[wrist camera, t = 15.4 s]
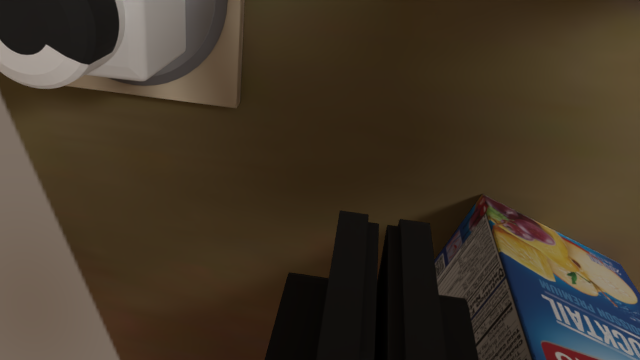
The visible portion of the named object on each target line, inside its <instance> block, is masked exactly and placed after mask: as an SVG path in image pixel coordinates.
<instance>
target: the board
mask: <svg viewBox="0 0 640 360" xmlns="http://www.w3.org/2000/svg"><path fill="white" fill-rule="evenodd" d="M244 1H245V0H185V18H186V50H185V52H184V53H183V54H181V55H180V56H179V57H177V58H176V59H175V60H173V61H172V62H170V63H169V64H168V65H166V66H165V67H164V68H162V69H161V70H160V71H158V72H157V73H156V74H154V75H153V76H151V77H150V78H149V79H147V80H146V81H133V80H124V79H116V78H107V77H99V76H90V75H84V76H82V77H80V78H79V79H77V80H75V81H73V82H71V83H69V84H67V85H65V86H71V87H78V88H86V89H93V90H101V91H109V92H116V93H124V94H132V95H139V96H147V97H154V98H162V99H170V100H177V101H185V102H193V103H200V104H208V105H215V106H223V107H231V108H237V106H238V105H239V104H240V96H241V73H242V49H243V25H244Z"/></svg>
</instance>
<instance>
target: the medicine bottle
mask: <svg viewBox="0 0 640 360" xmlns="http://www.w3.org/2000/svg"><path fill="white" fill-rule="evenodd" d="M185 50H186V18H185V0H0V72H1V73H2V74H4V75H5V76H7V77H8V78H10V79H12V80H14V81H16V82H18V83H20V84H23V85H26V86H29V87H33V88H39V89H52V88H59V87H62V86H65V85H67V84H69V83H71V82H73V81H75V80H77V79H79V78H80V77H82V76H84V75H90V76H99V77H107V78H116V79H124V80H133V81H146V80H147V79H149V78H150V77H151V76H153V75H154V74H156V73H157V72H158V71H160V70H161V69H162V68H164V67H165V66H166V65H168V64H169V63H170V62H172V61H173V60H175V59H176V58H177V57H179V56H180V55H181V54H183V53H184V52H185Z"/></svg>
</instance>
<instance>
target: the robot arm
mask: <svg viewBox="0 0 640 360" xmlns="http://www.w3.org/2000/svg"><path fill="white" fill-rule="evenodd" d="M378 236H379V224H377V223H370V222H368V215H367V214H360V213H353V212H346V211H340V213H339V219H338V226H337V232H336V238H335V244H334V251H333V257H332V263H331V269H330V276H329V278H323V277H317V276H310V275H303V274H296V273H290V272H289V274H288V277H287V280H286V283H285V287H284V291H283V294H282V298H281V302H280V305H279V309H278V313H277V316H276V320H275V324H274V327H273V331H272V335H271V338H270V342H269V346H268V350H267V353H266V357H265V360H479V358H478V353H477V348H476V343H475V337H474V332H473V327H472V322H471V317H470V312H469V307H468V303H467V300H466V299H464V298H458V297H452V296H445V295H439V292H438V284H437V276H436V268H435V260H434V253H433V245H432V237H431V229H430V224H429V223H424V222H417V221H410V220H403V219H400V220H399V224H398V226H391V225H388V226H387V230H386V235H385V240H384V246H383V252H382V257H381V263H380V269H379V274H378V280H377V266H378Z"/></svg>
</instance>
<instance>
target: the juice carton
mask: <svg viewBox="0 0 640 360" xmlns="http://www.w3.org/2000/svg"><path fill="white" fill-rule="evenodd" d="M435 268H436V276H437V284H438V292H439V295H445V296H452V297H458V298H464V299H466V300H467V303H468V307H469V312H470V317H471V322H472V327H473V332H474V337H475V343H476V348H477V353H478V358H479V360H640V294H639V292H638V291H637V289H636V288H635V286H634V285H633V283H632V282H631V280H630V278H629V277H628V275H627V274H626V272H625V271H624V269H623V268H622V266H621V265H620V263H618V262H616V261H614V260H612V259H610V258H608V257H606V256H604V255H602V254H600V253H598V252H596V251H594V250H592V249H590V248H588V247H586V246H584V245H582V244H580V243H578V242H576V241H574V240H572V239H570V238H568V237H566V236H564V235H562V234H560V233H558V232H556V231H554V230H552V229H550V228H548V227H547V226H545V225H543V224H541V223H539V222H537V221H535V220H533V219H531V218H529V217H527V216H525V215H523V214H521V213H519V212H517V211H515V210H513V209H511V208H509V207H507V206H505V205H503V204H501V203H499V202H497V201H495V200H493V199H491V198H489V197H487V196H485V195H483V194H482V195H481V196H480V198H479V199H478V201H477V202H476V203H475V205H474V206H473V208H472V209H471V210H470V212H469V213H468V215H467V216H466V217H465V219H464V220H463V222H462V223H461V224H460V226H459V227H458V228H457V230H456V231H455V233H454V234H453V235H452V237H451V238H450V240H449V241H448V242H447V244H446V245H445V247H444V248H443V249H442V251H441V252H440V254H439V255H438V256H437V258H436V259H435Z"/></svg>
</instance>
